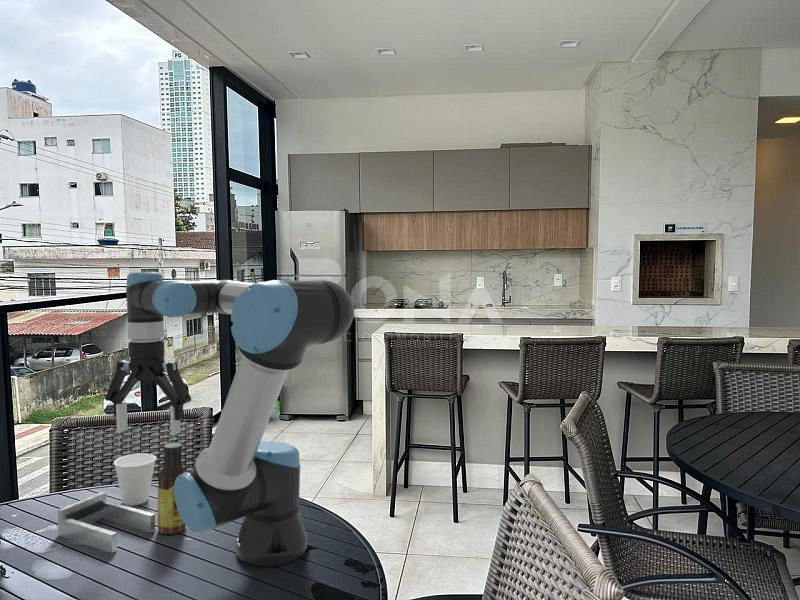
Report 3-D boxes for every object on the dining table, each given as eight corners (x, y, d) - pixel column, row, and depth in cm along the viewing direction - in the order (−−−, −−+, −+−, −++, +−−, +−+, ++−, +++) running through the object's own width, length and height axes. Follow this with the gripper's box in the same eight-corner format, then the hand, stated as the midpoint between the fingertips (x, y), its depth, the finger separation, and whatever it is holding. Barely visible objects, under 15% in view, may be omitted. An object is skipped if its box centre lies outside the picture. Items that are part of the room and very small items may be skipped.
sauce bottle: (177, 537, 129) (176, 451, 127) (151, 534, 129) (151, 449, 128) (192, 524, 135) (192, 442, 134) (168, 521, 136) (167, 440, 135)
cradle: (155, 530, 131) (154, 505, 131) (112, 553, 121) (111, 526, 121) (103, 515, 138) (102, 491, 138) (58, 535, 128) (57, 509, 128)
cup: (150, 490, 154) (149, 450, 153) (161, 503, 146) (161, 461, 145) (109, 499, 147) (109, 458, 147) (119, 513, 140) (119, 469, 139)
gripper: (205, 339, 130) (207, 430, 131) (109, 337, 135) (111, 425, 136) (187, 343, 123) (189, 440, 124) (86, 341, 128) (88, 434, 129)
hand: (148, 432), depth 130 cm, fingers open, 13 cm apart
